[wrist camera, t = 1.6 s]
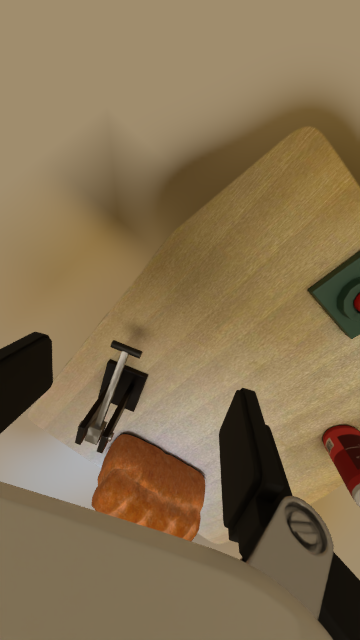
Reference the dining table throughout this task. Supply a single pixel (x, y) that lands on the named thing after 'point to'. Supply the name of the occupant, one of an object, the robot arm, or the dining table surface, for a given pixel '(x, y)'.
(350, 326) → the button box
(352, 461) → the canned food
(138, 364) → the dining table surface
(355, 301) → the button
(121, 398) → the bracket
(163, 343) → the dining table surface
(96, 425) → the lever
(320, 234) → the dining table surface
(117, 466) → the bread
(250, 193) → the dining table surface
